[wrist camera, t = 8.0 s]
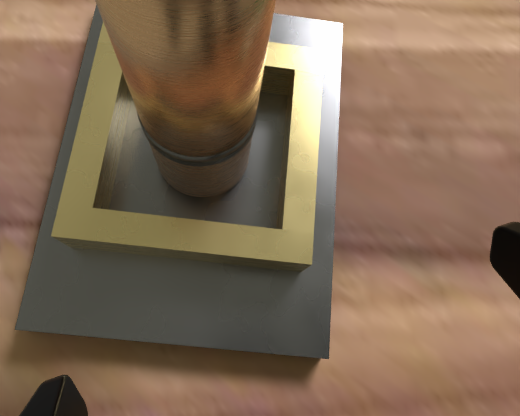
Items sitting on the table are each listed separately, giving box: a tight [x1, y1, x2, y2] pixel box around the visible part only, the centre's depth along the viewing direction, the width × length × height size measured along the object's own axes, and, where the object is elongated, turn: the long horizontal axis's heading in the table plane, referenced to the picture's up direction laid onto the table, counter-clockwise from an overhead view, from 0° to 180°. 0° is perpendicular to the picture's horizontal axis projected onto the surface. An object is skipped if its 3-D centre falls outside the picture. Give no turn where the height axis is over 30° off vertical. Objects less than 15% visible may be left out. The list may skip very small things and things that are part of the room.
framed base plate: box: [15, 5, 343, 359], centre depth 18 cm, size 16×12×3 cm
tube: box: [95, 0, 276, 197], centre depth 12 cm, size 4×4×14 cm
